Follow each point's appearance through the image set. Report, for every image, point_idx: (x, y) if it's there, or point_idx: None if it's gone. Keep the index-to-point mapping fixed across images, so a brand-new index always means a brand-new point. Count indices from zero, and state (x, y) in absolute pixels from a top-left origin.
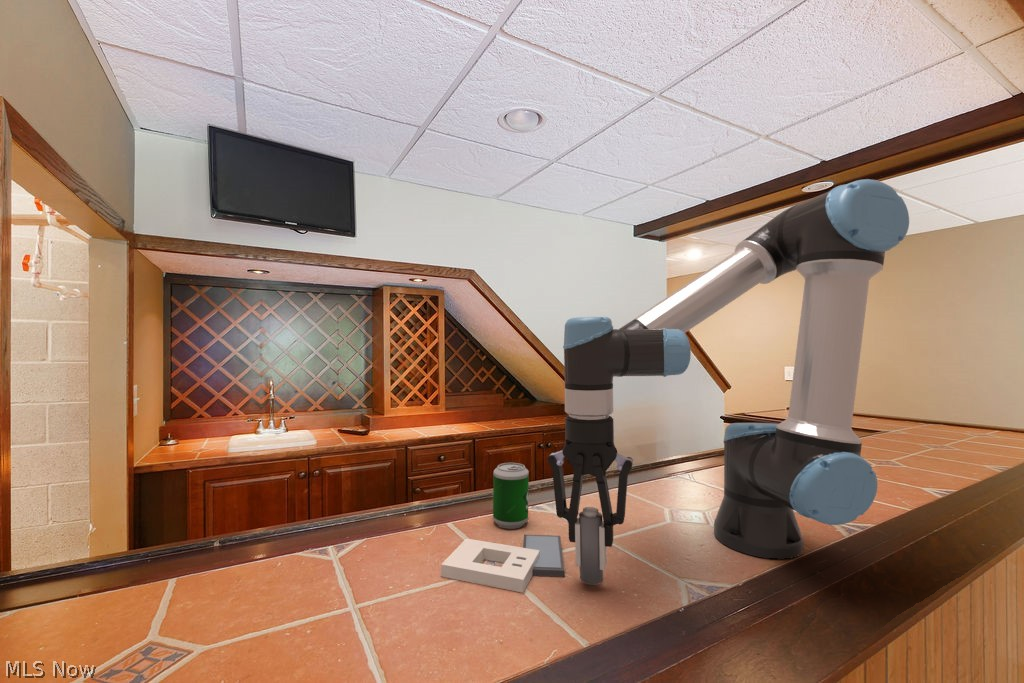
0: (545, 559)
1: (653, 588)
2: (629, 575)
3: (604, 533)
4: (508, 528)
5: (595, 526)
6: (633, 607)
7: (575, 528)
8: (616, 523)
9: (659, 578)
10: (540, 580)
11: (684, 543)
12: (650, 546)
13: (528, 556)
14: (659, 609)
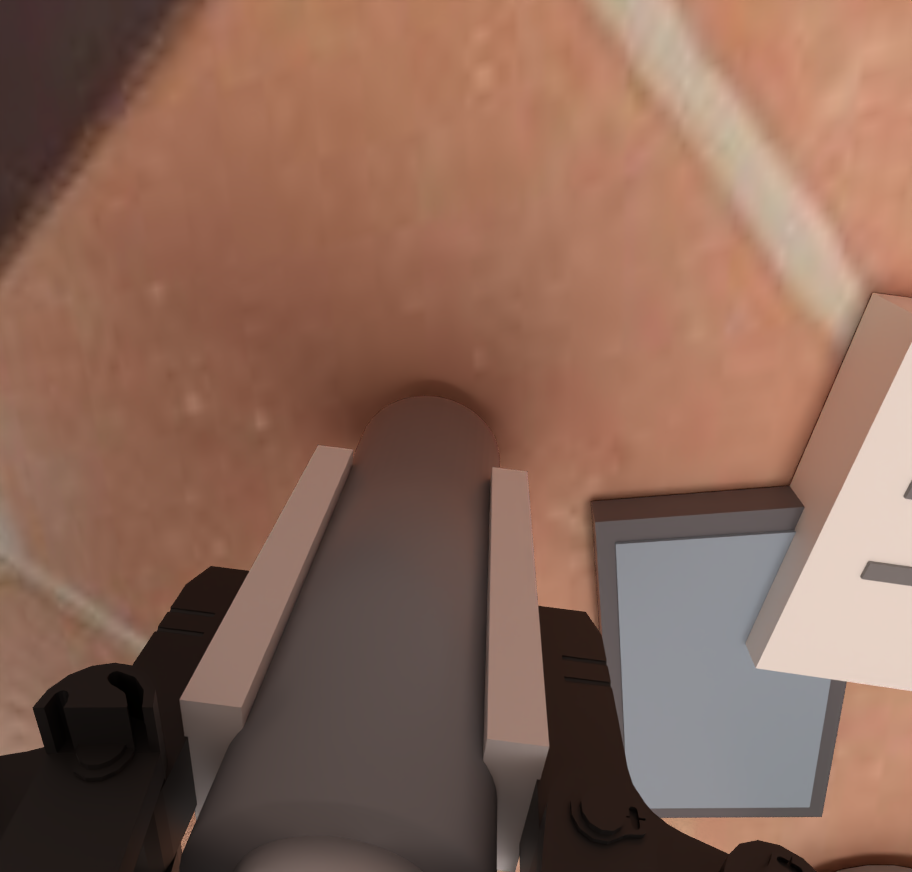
0: (710, 611)
1: (115, 472)
2: (245, 562)
3: (215, 656)
4: (889, 866)
5: (281, 713)
6: (186, 278)
7: (540, 702)
8: (6, 762)
9: (103, 558)
10: (740, 446)
11: None
12: None
13: (841, 599)
14: (51, 289)
